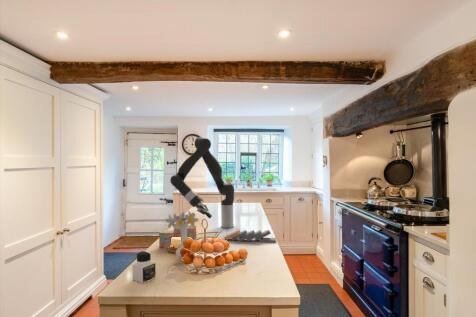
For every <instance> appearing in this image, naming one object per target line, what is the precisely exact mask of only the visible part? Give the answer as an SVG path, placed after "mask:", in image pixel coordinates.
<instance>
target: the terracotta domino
mask: <svg viewBox="0 0 476 317" xmlns="http://www.w3.org/2000/svg"><path fill="white" fill-rule="evenodd" d="M240 232H241V230H240V229H237V230H235V231H233V232H231V233H229V234H226V235H225V236H223V237H224V238H223V239H224V240H225V239H226V240H225V241H228V240H229V239H231V238H232V237H234V236H237V235H239V234H240Z"/></svg>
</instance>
